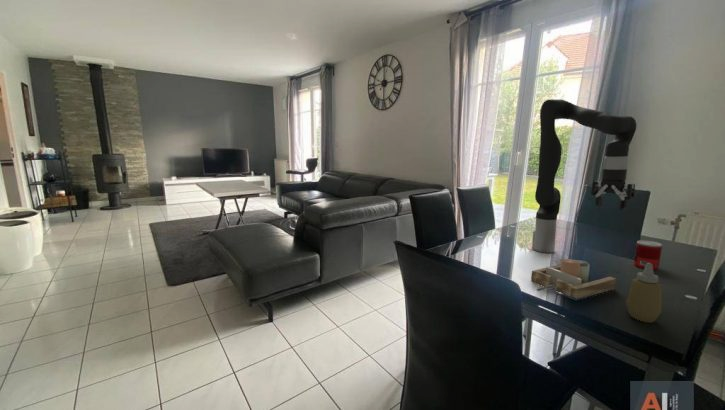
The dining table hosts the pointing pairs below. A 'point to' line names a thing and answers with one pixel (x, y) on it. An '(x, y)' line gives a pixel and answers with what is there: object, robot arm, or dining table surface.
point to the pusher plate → (560, 278)
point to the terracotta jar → (570, 267)
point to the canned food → (647, 254)
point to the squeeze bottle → (645, 296)
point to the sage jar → (584, 271)
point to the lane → (570, 290)
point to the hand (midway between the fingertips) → (610, 207)
